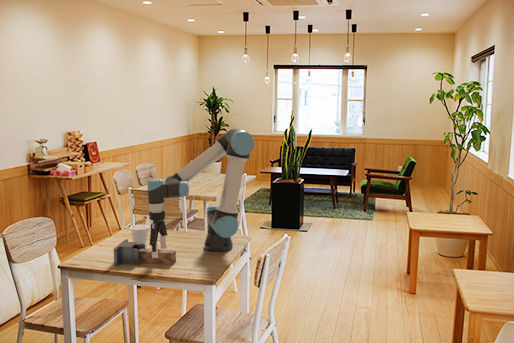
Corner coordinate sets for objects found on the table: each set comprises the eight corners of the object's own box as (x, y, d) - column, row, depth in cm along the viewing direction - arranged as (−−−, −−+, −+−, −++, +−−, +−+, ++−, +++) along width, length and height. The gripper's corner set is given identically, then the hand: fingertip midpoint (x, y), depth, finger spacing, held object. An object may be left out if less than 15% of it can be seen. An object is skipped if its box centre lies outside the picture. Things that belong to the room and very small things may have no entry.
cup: (145, 250, 267) (144, 230, 265) (127, 249, 269) (126, 228, 267) (152, 244, 276) (151, 225, 274) (135, 243, 278) (134, 223, 276)
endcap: (147, 256, 257) (147, 240, 256) (137, 266, 243) (136, 249, 241) (125, 255, 259) (125, 239, 257) (114, 265, 244) (113, 248, 242)
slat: (176, 262, 249) (175, 250, 248) (173, 265, 245) (172, 253, 244) (141, 259, 253) (141, 248, 252) (138, 262, 249) (137, 250, 248)
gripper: (157, 204, 257) (159, 244, 261) (140, 217, 233) (143, 261, 237) (171, 204, 256) (173, 244, 260) (156, 217, 232) (159, 262, 236)
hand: (159, 253), depth 248 cm, fingers open, 13 cm apart
